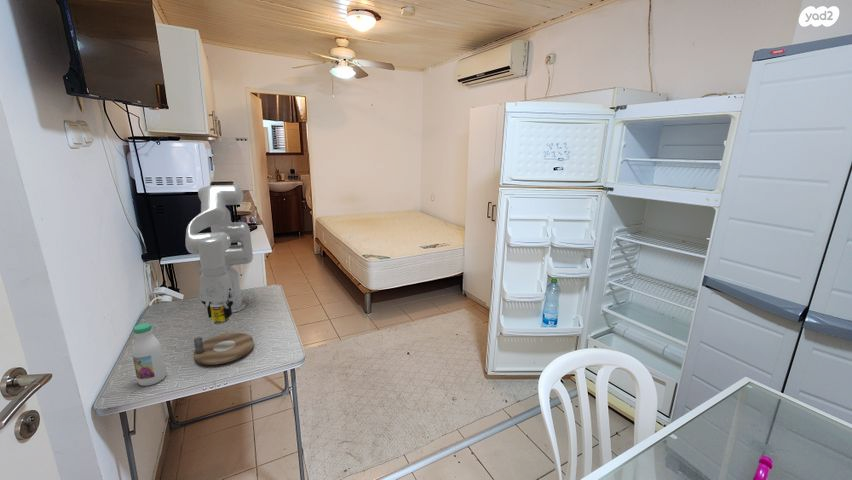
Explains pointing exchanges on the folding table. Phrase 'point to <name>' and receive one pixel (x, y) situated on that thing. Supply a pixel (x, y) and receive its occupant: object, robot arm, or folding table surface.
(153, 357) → the milk bottle
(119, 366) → the folding table surface
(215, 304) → the supplement bottle
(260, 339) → the folding table surface
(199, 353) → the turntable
